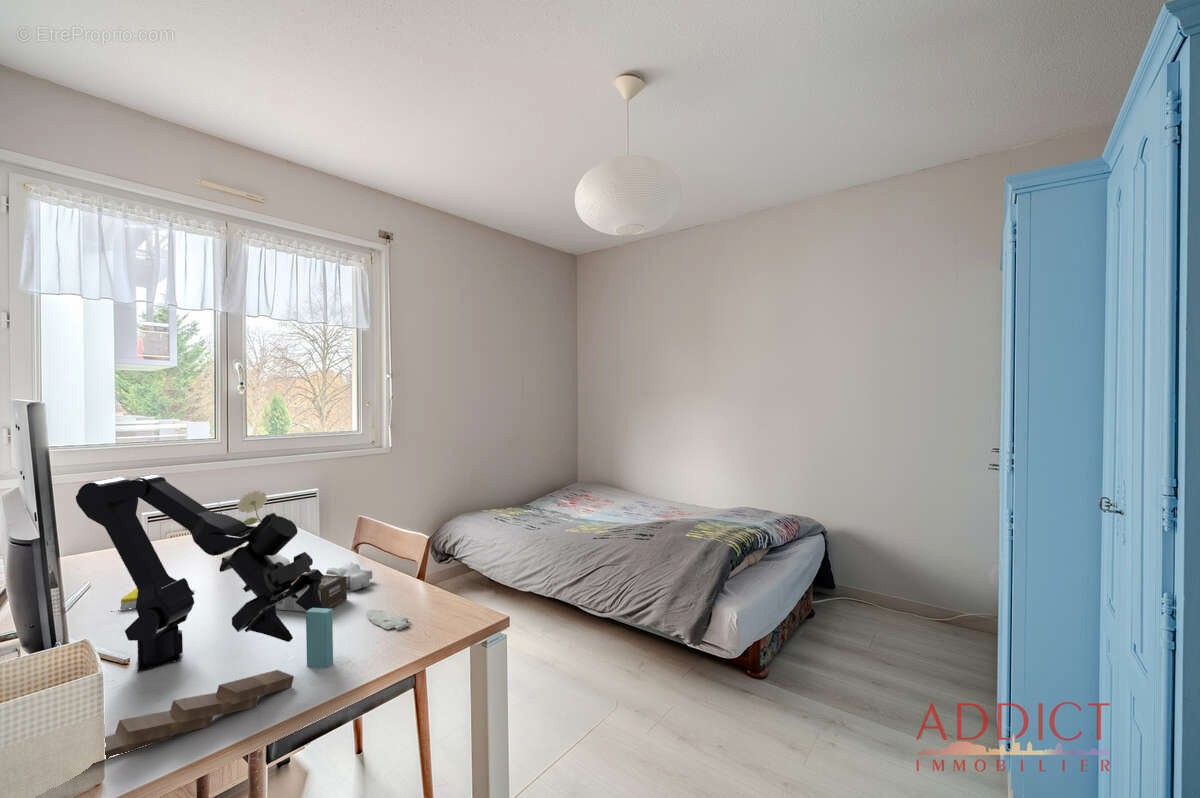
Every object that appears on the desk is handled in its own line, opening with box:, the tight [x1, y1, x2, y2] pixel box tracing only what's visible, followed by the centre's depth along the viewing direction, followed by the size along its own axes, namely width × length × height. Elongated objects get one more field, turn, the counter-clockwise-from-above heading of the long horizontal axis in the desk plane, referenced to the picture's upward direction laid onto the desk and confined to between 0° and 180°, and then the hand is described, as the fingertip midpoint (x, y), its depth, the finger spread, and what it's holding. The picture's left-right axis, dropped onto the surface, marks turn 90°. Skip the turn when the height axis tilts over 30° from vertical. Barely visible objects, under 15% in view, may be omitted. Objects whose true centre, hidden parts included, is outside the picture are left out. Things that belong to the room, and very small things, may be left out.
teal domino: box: [305, 608, 334, 669], centre depth 102 cm, size 2×4×11 cm, turn 83°
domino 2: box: [114, 709, 214, 745], centre depth 80 cm, size 2×4×11 cm
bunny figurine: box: [325, 561, 373, 592], centre depth 144 cm, size 10×5×15 cm
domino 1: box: [104, 733, 173, 760], centre depth 79 cm, size 2×4×11 cm
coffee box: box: [275, 574, 348, 613], centre depth 130 cm, size 9×6×16 cm
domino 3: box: [170, 692, 259, 723], centre depth 85 cm, size 2×4×11 cm
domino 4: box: [215, 669, 295, 704], centre depth 90 cm, size 2×4×11 cm
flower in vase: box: [236, 490, 291, 566], centre depth 153 cm, size 13×11×25 cm
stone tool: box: [366, 608, 411, 631], centre depth 121 cm, size 6×2×15 cm
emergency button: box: [120, 587, 196, 609], centre depth 133 cm, size 9×4×15 cm
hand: (307, 628), depth 102 cm, fingers open, 9 cm apart
